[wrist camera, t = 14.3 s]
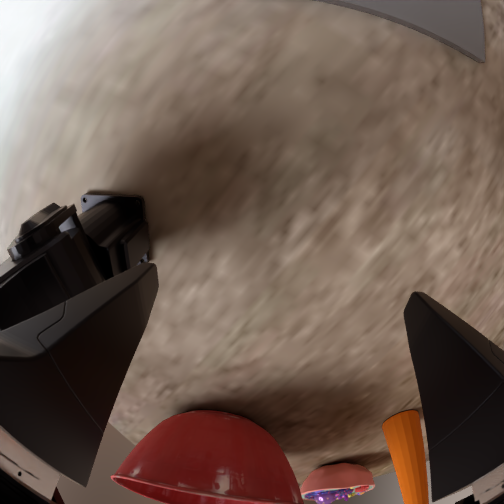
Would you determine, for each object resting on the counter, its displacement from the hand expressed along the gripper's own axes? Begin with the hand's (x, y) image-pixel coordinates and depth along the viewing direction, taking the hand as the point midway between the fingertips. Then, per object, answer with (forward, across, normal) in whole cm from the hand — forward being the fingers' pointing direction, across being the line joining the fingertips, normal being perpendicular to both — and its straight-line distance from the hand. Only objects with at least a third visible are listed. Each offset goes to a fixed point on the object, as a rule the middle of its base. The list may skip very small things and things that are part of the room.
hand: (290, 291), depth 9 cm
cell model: (+13, -24, +62) cm, 68 cm away
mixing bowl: (+13, +4, +40) cm, 42 cm away
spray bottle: (+13, -26, +35) cm, 46 cm away
